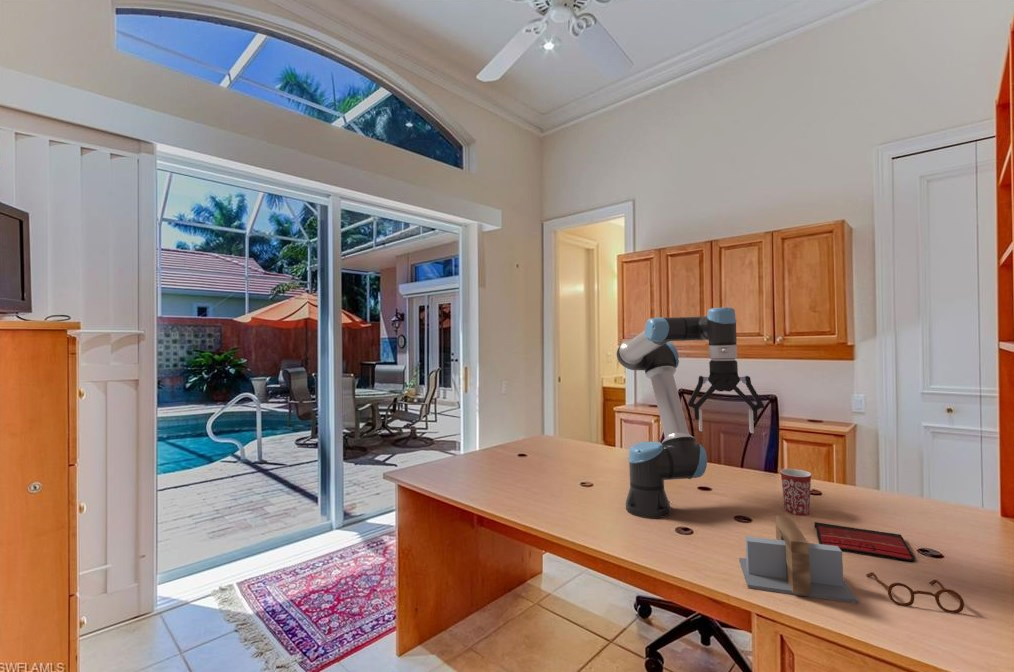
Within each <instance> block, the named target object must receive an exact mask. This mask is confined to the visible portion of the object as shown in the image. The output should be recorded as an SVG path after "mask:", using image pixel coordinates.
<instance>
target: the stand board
mask: <svg viewBox="0 0 1014 672" xmlns="http://www.w3.org/2000/svg"><path fill="white" fill-rule="evenodd" d="M808 543H809V564H810V589H811V595H804V594H797V593H793V592H792V590H791V588H790V586H789V584H788V581H787V571H786V546H785V540H777V539H776V538H775V539H774V538H765V537H755V536H748V535H746V536H745V558H743V557H739V558H738V559H739V561H738V562H739V564H740V567H741V571H742V573H743V576H744V579H745V583H746V585H747V588H748V589H752V590H753V589H754V590H760V591H767V592H773V593H774V592H775V593H779V594H780V593H781V594H789V595H795V596H801V597H802V596H803V597H808V598H809V597H810V598H816V599H825V600H829V601H830V600H831V601H838V602H845V603H851V604H856V605H857V604H859V599H858V598H857V597H856V594H854V592H853V590H851V588H850V587H849V586H848V584H847V583H846V582H845V580H844V565H843V564H844V563H843V551H841V550H840V548H839V547H838V546H832V545H823V544H819V543H813V542H808Z"/></svg>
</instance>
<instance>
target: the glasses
mask: <svg viewBox="0 0 1014 672" xmlns="http://www.w3.org/2000/svg"><path fill="white" fill-rule="evenodd" d="M865 576H866V577H867V578H870V577H873V578H874V579H875V581H876V582H877V584H879V585H881V586H882V587H883V588H885V589H886V590H887V595H888V598H889V599H890V600H891V602H892V603H894V604H895V605H897V606H902V607H910V606H912V605H913V604H914V601H915V598H916V597H915V595H917V594H918V595H919V594H920V595H925V596H932V597H934V599H935V603H936V604H937V606H938V607H939V609H941V610H942V611H944V612H945V613H950V614H960V613H962V611H963V610H964V608H965V602H964V601H965V600H964V599H963V597H962V596H961V594H959V593H958V592H957V591H955V590H953V589H950V588H949V589H948V588H946V587H945V586H944V585H943V584H942V583H941V581H939V579H936V578H935V579H933V580H931V581H929V583H928V584H929V585H930V584H931V585H930V586H935V584H937V585H938V587H940V589H939V590H937V591H936V592H935V593H933V592H930V591H927V590H926V591H925V590H913V588H911V587H910V586H908V585H907V584H905V583H901V582H892V583H890V584H889V585H887V584H886V583H884V582H883V581H882V580H881V579H879V578H878V577H877V574H876V573H874V572H873V571H871V572H869V573H866V575H865ZM895 587H903V588H906V589H907V590H908V591H909V593H910V594H909V595H910V600H909V601H908V602H903V603H902V602H899V601H897V600H895V599H894V598H893V595H892V590H893V588H895ZM943 593H947V594H949V596H952V597H954V598H955V599H957V600H958V601H959V606H958V608H956V609H954V610H953V609H947V608H945V607H944V606H943V605H942V604H941V601H940V595H942V594H943Z"/></svg>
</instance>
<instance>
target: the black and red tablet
mask: <svg viewBox="0 0 1014 672" xmlns="http://www.w3.org/2000/svg"><path fill="white" fill-rule="evenodd" d="M814 528H815V530H816V536H817V539H818V544H823V545H832V546H838V547H839V548H840V550H841V551H842V552H847V553H848V552H849V553H855V554H861V555H868V556H873V557H880V558H887V559H892V560H895V561H899V562H904V563H911V564H912V563H915V562H916V557H915V555H914V554H913V552H912V551H911V549H910V547H909V545H908V544H907V542H906V540H905V538H903V536H902V534H898V533H891V532H885V531H878V530H872V529H865V528H864V529H863V528H859V527H858V528H857V527H851V526H850V527H849V526H843V525H837V524H831V523H830V524H829V523H825V522H824V523H823V522H817V521H815V522H814Z"/></svg>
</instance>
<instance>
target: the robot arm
mask: <svg viewBox="0 0 1014 672" xmlns="http://www.w3.org/2000/svg"><path fill="white" fill-rule="evenodd" d="M706 315H707V316H684V317H683V316H681V317H679V316H678V317H673V316H672V317H662V316H661V317H654V318H653V317H651V318H649V319H647V321H646V323H645V325H644V330H643V331H641V332H640V333H639V334H638V335H636V336H635V337H633V338H632V339H627V340H624V342H622V343H621V344H620V345H619V346H618V348H617V351H616V358H617V362H618V363H619V364H620V365H621V366H622V367H624V368H625V369H628V370H631V371H644V372H645V377H646V378H648V379H650V382H651V385H652V390H653V393H654V398H655V402H656V406H657V410H658V415H659V417H660V423H661V427H662V431H663V434H664V435H663V436H664V438H663V440H662V442H660V441H659V442H658V441H641V442H638V443H635V444H632V445H631V446H630V447H629V450H628V451H629V452H628V455H629V456H628V464H629V466H628V467H629V468H628V469H629V490H628V494H627V497H626V500H625V510H626V511H627V513H630V514H632V515H634V516H636V517H640V518H641V517H643V518H649V519H654V518H655V519H656V518H657V519H658V518H664V517H666V516H668V515H670V514H671V503H670V501H669V498H668V496H667V493H666V490H665V481H667V480H684V479H685V480H687V479H688V480H692V479H696V478H697V479H698V478H701V477H702V476H703V475H704V474H705V472H706V470H707V465H708V456H707V451H706V449H705V447H704V446H703V445H702V444H700V443H697V442H696V439H695V437H694V436H692V435H691V434H690V433H689V429H688V425H687V422H686V417H685V414H684V410H683V405H682V402H681V398H680V395H679V391H678V388H677V384H676V380H675V376H674V375H675V373H676V371H677V368H678V367H679V363H680V360H679V358H680V355H679V352H678V349H677V347H676V346H675V344H673V343H672V342H683V341H684V342H686V341H690V342H691V341H708V358H709V359H711V360H710V361H709V362H708V364H709V375H708V376H702V375H699V376H698V377H697V379H698V381H697V384H696V386H695V388H694V390H693V393H692V394H691V396H690V399H689V400H688V403H687V406H688V407H689V408H692V409H694V419H695V420H698V430H699V432H703V415H702V414H703V411H702V405H703V404H704V403H705V402H706V401H707V400H708V398H709V397H710V396H712V394H713V393H714V392H715V391H717V392H732V391H734V392H735V393H736V394H737V395H738V396H739V397H740V398H741V399H742V400H743V401H744V402H745V403H746V404H747V405H748V406H749V407H750V408H748V426H749V427H748V429H749V431H748V432H750V434H754V433H755V430H754V429H755V428H754V427H755V426H754V422H758V411H759V410H760V409H764V408H765V404H764V402H763V401H762V399H761V397H760V395H758V393H757V391H756V389H755V387H754V385H752V379H751V377H750V376H749V375H745V376H739V371H738V370H739V369H738V361H737V360H736V359H737V358H738V350H737V349H738V348H737V340H738V339H737V319H736V318H737V317H736V310H735V308H733V307H728V306H727V307H714V308H713V307H712V308H709V309H708V310H707V314H706ZM707 382H708V383H710V385H711V386H710V387H709V388H708V389H707V390H706V391H705V392H704V393H703V395H702V396H701V397H700V398H699V399H698V400H697V401H696V399H697V398H698V396H699V394H700V392H701V389H702V387H703V385H704V384H706V383H707ZM739 382H742V383H743V384H744V385H746V388H747V390H748V391H749V393H750V395H751V396H752V398H753V399H754V401H755V402H756V404H755V403H753V401H752V400H751V399H750V398H748V396H747V395H746V394H745V393H744V392H743V391H742V390H741V389H740V388H739V387H738V386H737V385H738V384H739ZM695 401H696V403H695Z"/></svg>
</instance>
